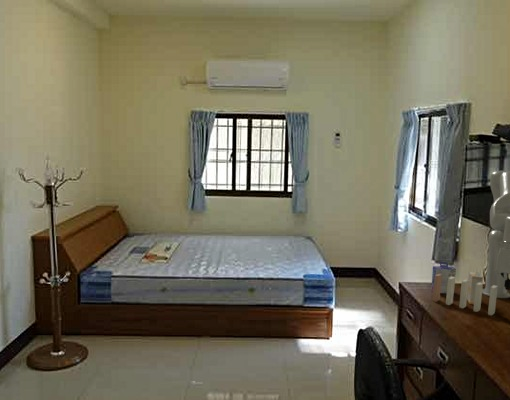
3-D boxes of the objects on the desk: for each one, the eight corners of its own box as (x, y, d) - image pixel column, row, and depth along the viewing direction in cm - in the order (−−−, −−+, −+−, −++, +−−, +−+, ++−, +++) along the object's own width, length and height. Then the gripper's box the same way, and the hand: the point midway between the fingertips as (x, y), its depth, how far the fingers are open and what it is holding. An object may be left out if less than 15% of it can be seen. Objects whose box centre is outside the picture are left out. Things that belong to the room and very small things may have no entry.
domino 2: (449, 302, 236) (451, 276, 234) (452, 303, 235) (455, 277, 233) (445, 304, 232) (448, 278, 231) (449, 305, 231) (451, 279, 230)
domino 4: (476, 308, 228) (479, 282, 227) (480, 309, 227) (482, 282, 226) (473, 311, 225) (475, 284, 223) (477, 311, 224) (479, 284, 222)
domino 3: (462, 305, 232) (465, 279, 230) (466, 306, 231) (468, 280, 229) (459, 307, 228) (461, 281, 227) (462, 308, 227) (465, 281, 226)
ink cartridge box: (450, 290, 254) (453, 261, 252) (454, 294, 249) (457, 264, 247) (430, 289, 254) (432, 260, 252) (433, 293, 249) (436, 263, 247)
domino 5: (490, 312, 224) (493, 285, 223) (494, 313, 223) (497, 286, 222) (487, 314, 221) (490, 287, 219) (491, 315, 220) (494, 288, 218)
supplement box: (480, 305, 233) (483, 277, 231) (469, 304, 234) (472, 276, 232) (476, 299, 241) (479, 272, 239) (465, 298, 242) (468, 271, 240)
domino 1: (436, 299, 240) (438, 273, 238) (439, 299, 238) (441, 274, 237) (432, 301, 236) (434, 275, 235) (435, 301, 235) (438, 276, 234)
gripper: (491, 244, 216) (486, 287, 218) (530, 250, 207) (525, 295, 209) (496, 242, 222) (492, 284, 224) (534, 248, 213) (530, 291, 215)
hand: (508, 289), depth 216 cm, fingers closed
